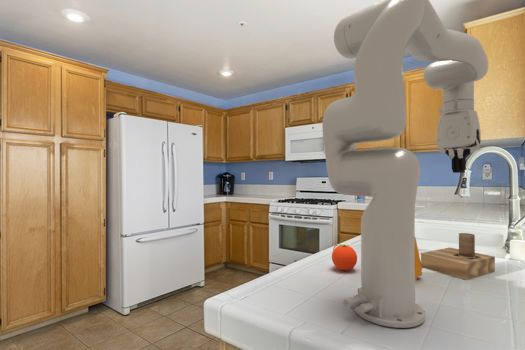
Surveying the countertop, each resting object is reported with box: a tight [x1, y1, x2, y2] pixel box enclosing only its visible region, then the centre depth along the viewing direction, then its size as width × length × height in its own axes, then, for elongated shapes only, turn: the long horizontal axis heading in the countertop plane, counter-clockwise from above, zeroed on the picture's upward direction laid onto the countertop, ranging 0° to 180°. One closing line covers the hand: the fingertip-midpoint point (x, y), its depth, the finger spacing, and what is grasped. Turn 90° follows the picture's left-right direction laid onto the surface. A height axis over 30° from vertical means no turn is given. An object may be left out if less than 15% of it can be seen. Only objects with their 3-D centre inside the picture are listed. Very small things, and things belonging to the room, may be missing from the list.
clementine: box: [331, 243, 358, 271], centre depth 83 cm, size 8×7×7 cm
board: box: [420, 247, 496, 280], centre depth 83 cm, size 14×12×4 cm
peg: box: [458, 232, 476, 259], centre depth 82 cm, size 4×4×10 cm
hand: (458, 172), depth 85 cm, fingers closed
